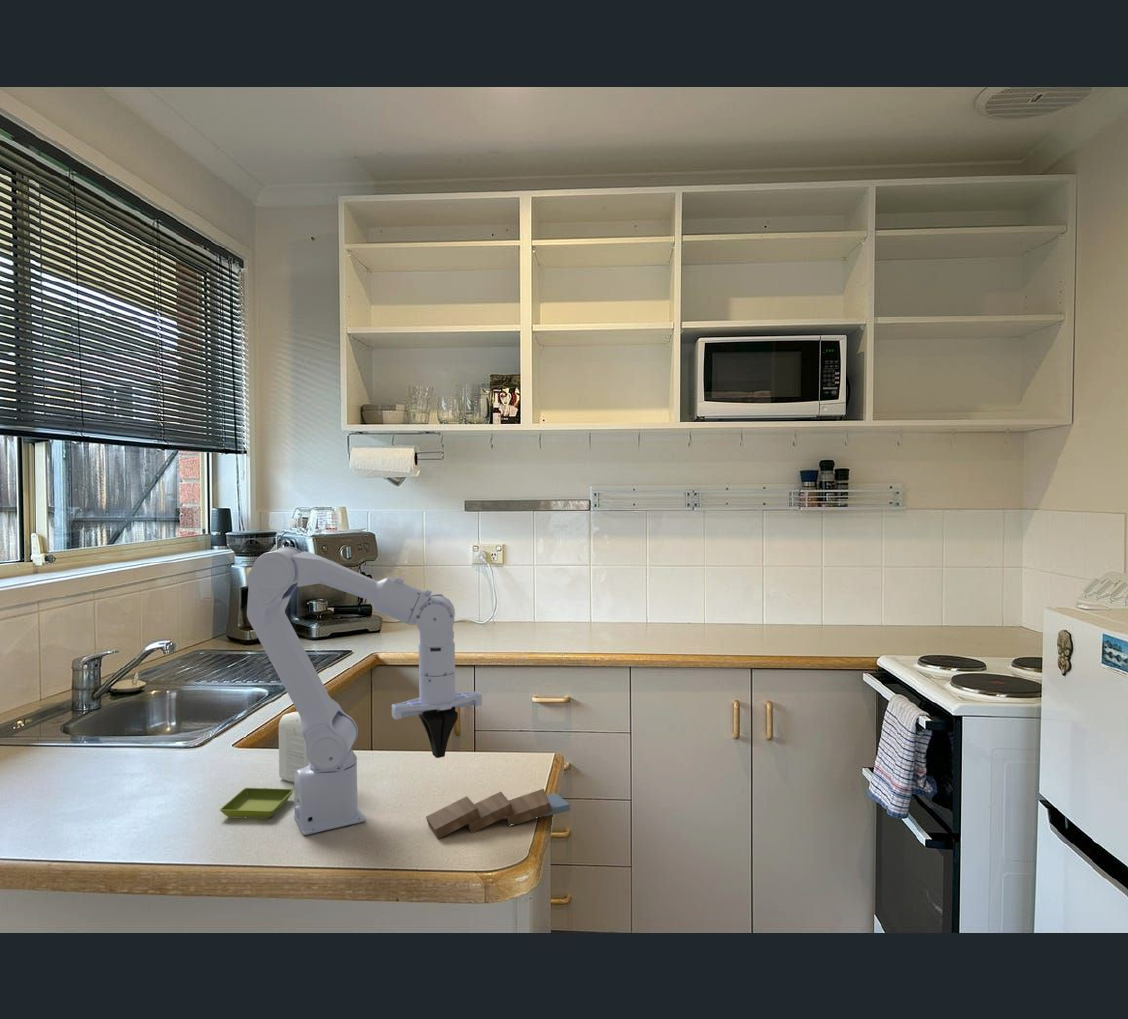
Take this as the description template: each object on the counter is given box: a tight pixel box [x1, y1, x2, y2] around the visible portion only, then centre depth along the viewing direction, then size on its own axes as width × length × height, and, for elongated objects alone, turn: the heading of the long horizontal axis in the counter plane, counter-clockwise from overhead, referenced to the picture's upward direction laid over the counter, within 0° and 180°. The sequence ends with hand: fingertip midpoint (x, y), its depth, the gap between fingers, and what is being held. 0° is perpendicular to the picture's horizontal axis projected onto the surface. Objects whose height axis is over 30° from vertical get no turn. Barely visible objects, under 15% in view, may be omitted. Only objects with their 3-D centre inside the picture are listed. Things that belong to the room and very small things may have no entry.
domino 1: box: [425, 795, 480, 840], centre depth 117 cm, size 2×5×7 cm
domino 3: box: [505, 788, 552, 826], centre depth 121 cm, size 2×5×7 cm
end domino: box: [542, 792, 571, 817], centre depth 124 cm, size 2×5×7 cm
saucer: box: [219, 787, 294, 819], centre depth 125 cm, size 9×9×2 cm
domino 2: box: [466, 791, 514, 833], centre depth 119 cm, size 2×5×7 cm
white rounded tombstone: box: [278, 711, 309, 783], centre depth 136 cm, size 10×4×12 cm, turn 60°
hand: (438, 755), depth 122 cm, fingers closed
